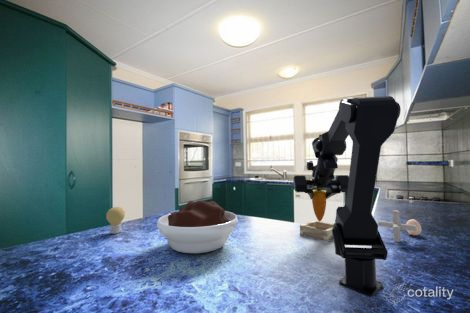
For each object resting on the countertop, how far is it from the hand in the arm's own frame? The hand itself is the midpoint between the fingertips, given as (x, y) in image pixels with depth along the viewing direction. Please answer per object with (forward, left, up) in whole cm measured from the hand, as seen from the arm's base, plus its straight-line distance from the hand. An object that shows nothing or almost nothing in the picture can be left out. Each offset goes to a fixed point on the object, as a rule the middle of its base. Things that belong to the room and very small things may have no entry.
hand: (318, 198), depth 82 cm
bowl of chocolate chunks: (-41, +18, -13) cm, 46 cm away
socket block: (-1, -1, -13) cm, 13 cm away
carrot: (-1, -1, -8) cm, 9 cm away
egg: (+24, -23, -13) cm, 36 cm away
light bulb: (-58, +53, -13) cm, 79 cm away
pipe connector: (+12, -21, -13) cm, 28 cm away
